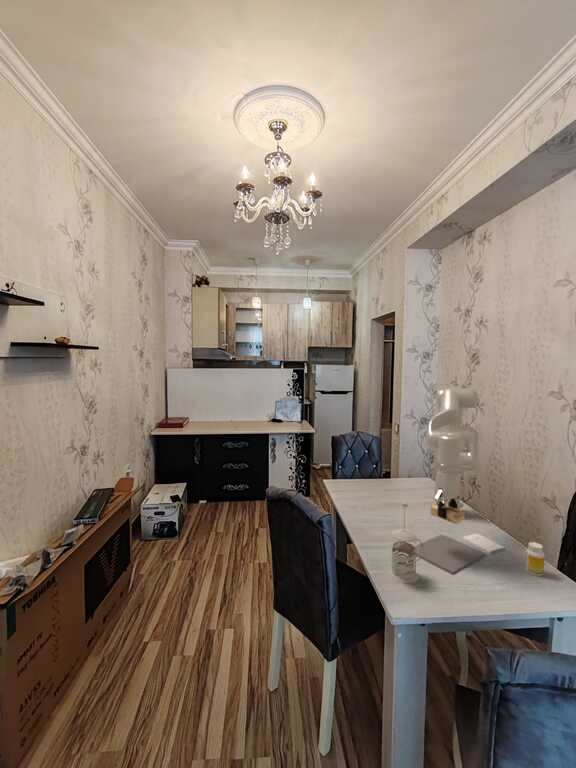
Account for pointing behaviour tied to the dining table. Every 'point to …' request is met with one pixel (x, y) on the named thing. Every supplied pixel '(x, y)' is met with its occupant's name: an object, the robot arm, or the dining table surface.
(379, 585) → the dining table surface
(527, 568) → the supplement bottle
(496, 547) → the external hard drive
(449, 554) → the rubber mat
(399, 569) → the french press
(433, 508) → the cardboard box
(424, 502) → the dining table surface
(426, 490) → the dining table surface
